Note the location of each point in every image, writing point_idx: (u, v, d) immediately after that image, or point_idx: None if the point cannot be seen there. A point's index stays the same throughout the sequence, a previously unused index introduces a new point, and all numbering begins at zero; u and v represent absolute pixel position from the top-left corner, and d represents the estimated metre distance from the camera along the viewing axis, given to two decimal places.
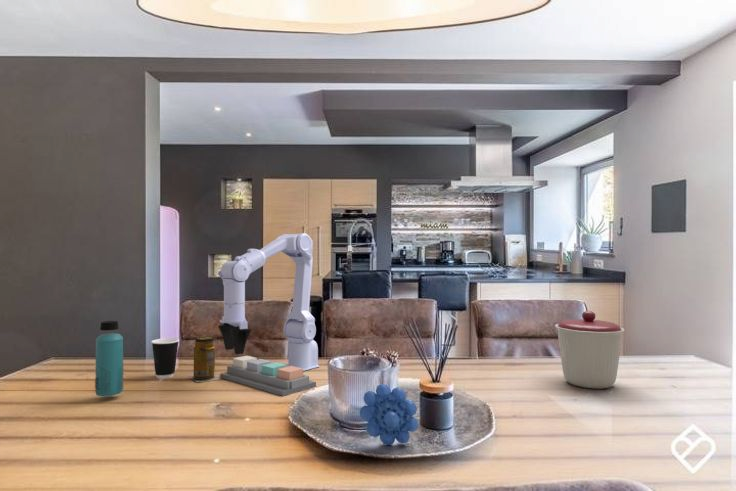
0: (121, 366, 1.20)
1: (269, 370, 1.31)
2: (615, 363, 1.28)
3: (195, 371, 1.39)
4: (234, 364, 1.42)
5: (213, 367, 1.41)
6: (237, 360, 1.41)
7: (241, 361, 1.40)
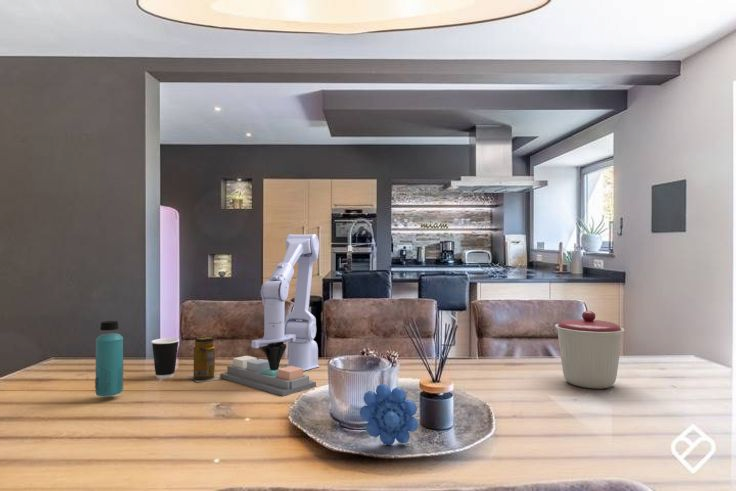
0: (121, 366, 1.20)
1: (269, 375, 1.31)
2: (615, 363, 1.28)
3: (195, 371, 1.39)
4: (234, 364, 1.42)
5: (213, 367, 1.41)
6: (237, 360, 1.41)
7: (241, 361, 1.40)
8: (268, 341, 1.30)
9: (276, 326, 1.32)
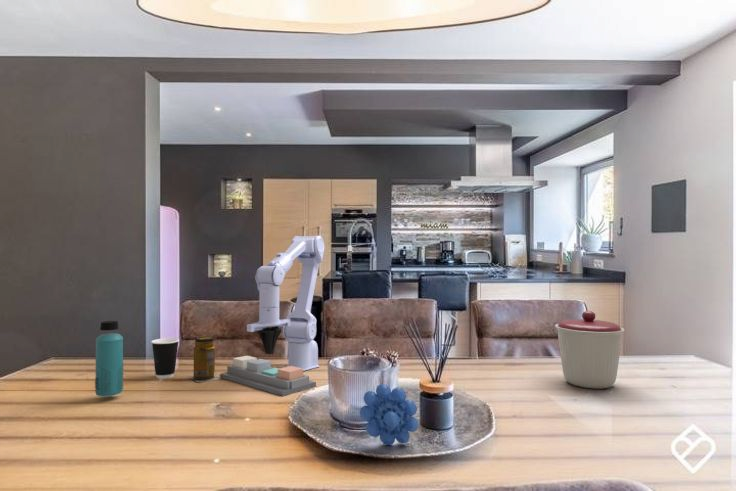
0: (121, 366, 1.20)
1: None
2: (615, 363, 1.28)
3: (195, 371, 1.39)
4: (234, 364, 1.42)
5: (213, 367, 1.41)
6: (237, 360, 1.41)
7: (241, 361, 1.40)
8: (263, 325, 1.32)
9: (271, 310, 1.33)
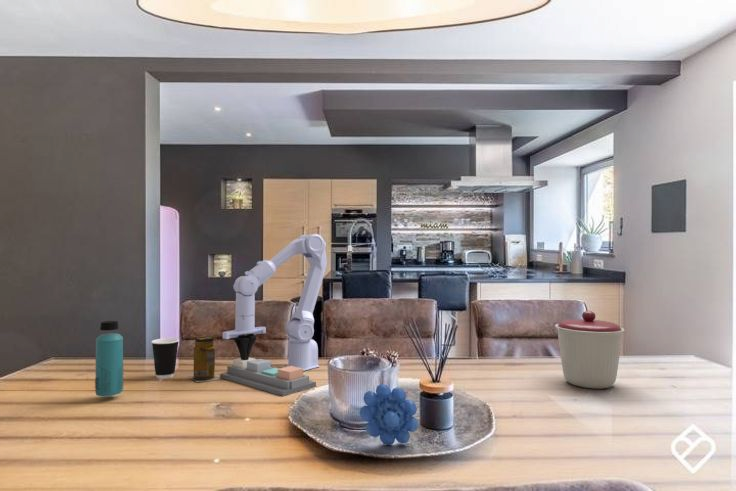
0: (121, 366, 1.20)
1: None
2: (615, 363, 1.28)
3: (195, 371, 1.39)
4: (234, 365, 1.42)
5: (213, 367, 1.41)
6: (237, 361, 1.41)
7: (241, 362, 1.40)
8: (238, 333, 1.39)
9: (246, 319, 1.41)
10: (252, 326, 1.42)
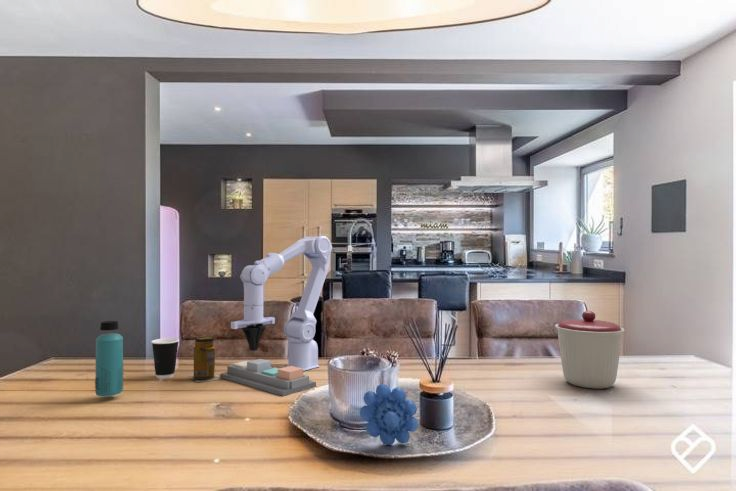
0: (121, 366, 1.20)
1: None
2: (615, 363, 1.28)
3: (195, 371, 1.39)
4: None
5: (213, 367, 1.41)
6: (237, 365, 1.41)
7: (241, 366, 1.40)
8: (247, 322, 1.36)
9: (255, 308, 1.38)
10: (261, 316, 1.39)
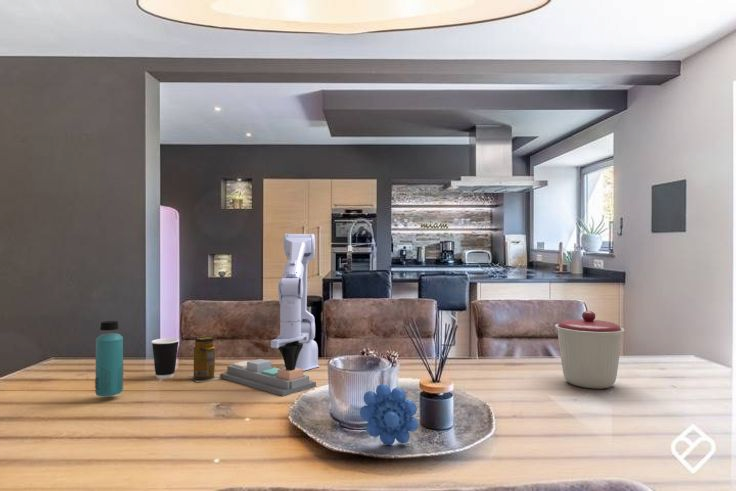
0: (121, 366, 1.20)
1: None
2: (615, 363, 1.28)
3: (195, 371, 1.39)
4: None
5: (213, 367, 1.41)
6: (237, 365, 1.41)
7: (241, 366, 1.40)
8: (287, 340, 1.26)
9: (295, 325, 1.27)
10: (300, 332, 1.29)
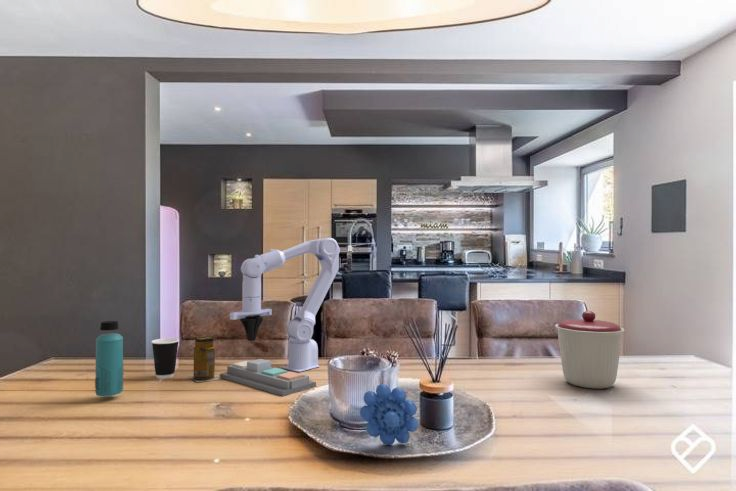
0: (121, 366, 1.20)
1: None
2: (615, 363, 1.28)
3: (195, 371, 1.39)
4: None
5: (213, 367, 1.41)
6: (237, 365, 1.41)
7: (241, 366, 1.40)
8: (245, 313, 1.42)
9: (253, 300, 1.43)
10: (259, 307, 1.45)
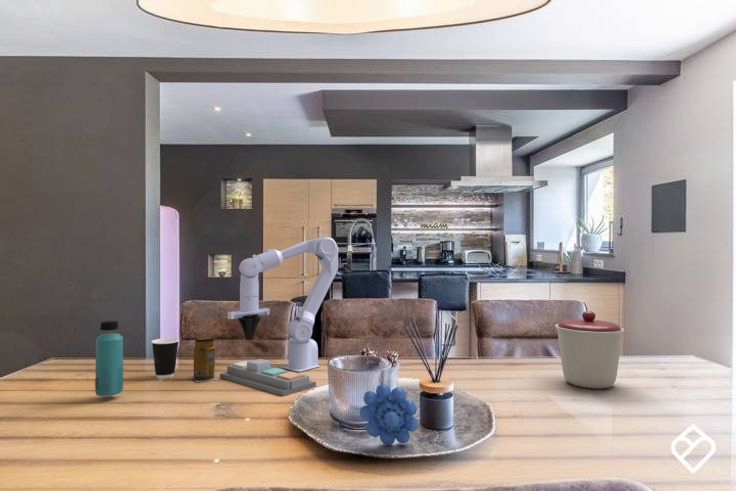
0: (121, 366, 1.20)
1: None
2: (615, 363, 1.28)
3: (195, 371, 1.39)
4: None
5: (213, 367, 1.41)
6: (237, 365, 1.41)
7: (241, 366, 1.40)
8: (243, 313, 1.43)
9: (250, 299, 1.44)
10: (256, 307, 1.46)
